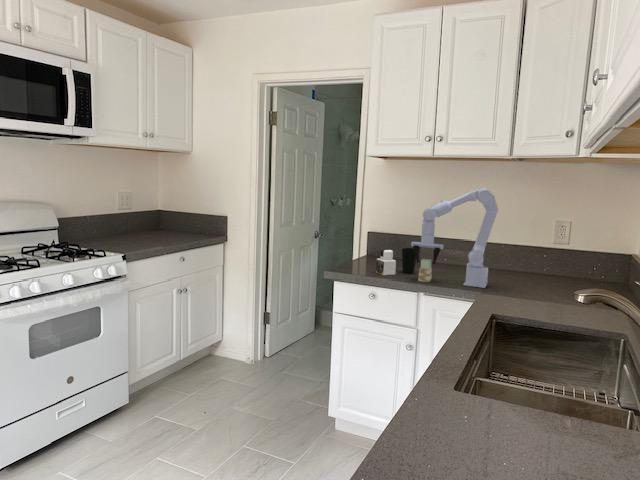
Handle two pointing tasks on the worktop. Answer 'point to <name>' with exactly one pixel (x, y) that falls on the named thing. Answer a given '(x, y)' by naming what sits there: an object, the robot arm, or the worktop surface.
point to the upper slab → (425, 272)
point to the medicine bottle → (386, 263)
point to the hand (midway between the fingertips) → (425, 262)
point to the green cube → (426, 264)
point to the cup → (408, 260)
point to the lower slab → (424, 278)
